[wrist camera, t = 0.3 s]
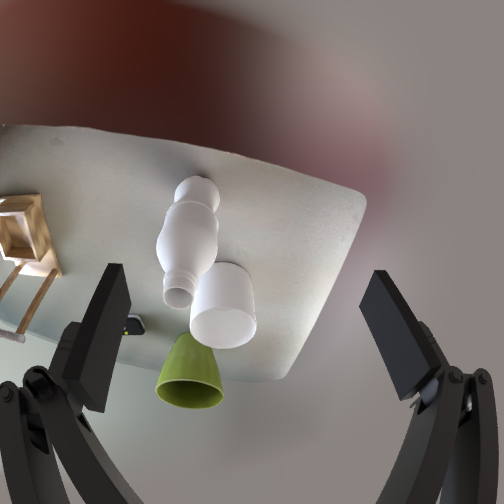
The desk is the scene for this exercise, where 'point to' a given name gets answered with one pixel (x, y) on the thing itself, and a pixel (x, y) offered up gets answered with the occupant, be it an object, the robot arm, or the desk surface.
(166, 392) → the flower pot
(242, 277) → the cup
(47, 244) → the rack
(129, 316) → the remote control
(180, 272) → the water bottle
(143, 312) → the desk surface
